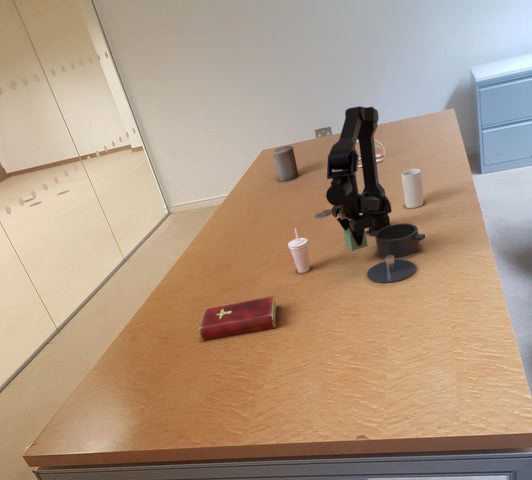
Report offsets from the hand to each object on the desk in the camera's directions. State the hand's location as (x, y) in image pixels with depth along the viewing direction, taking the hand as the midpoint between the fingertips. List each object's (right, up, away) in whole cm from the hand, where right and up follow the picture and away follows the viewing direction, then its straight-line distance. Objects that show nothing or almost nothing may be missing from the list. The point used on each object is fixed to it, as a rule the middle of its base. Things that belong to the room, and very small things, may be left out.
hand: (356, 242), depth 169 cm
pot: (+14, -1, +5) cm, 15 cm away
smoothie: (-15, -7, +10) cm, 19 cm away
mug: (+27, +21, +35) cm, 49 cm away
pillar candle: (-16, +51, +101) cm, 115 cm away
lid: (+9, -10, -7) cm, 15 cm away
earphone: (+18, +56, +93) cm, 110 cm away
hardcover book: (-34, -25, -10) cm, 44 cm away
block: (0, -1, +1) cm, 1 cm away
